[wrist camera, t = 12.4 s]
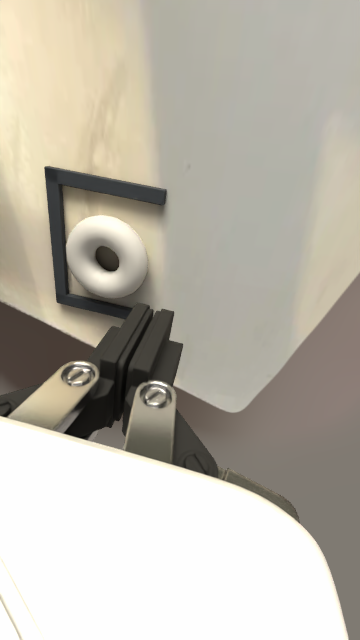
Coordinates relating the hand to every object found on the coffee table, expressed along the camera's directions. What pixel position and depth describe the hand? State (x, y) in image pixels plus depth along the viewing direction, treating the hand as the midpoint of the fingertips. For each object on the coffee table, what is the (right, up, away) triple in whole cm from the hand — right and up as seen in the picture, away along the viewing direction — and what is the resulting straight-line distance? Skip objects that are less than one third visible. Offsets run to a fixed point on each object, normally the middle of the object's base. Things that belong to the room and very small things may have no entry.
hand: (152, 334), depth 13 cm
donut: (-7, +9, +23) cm, 26 cm away
